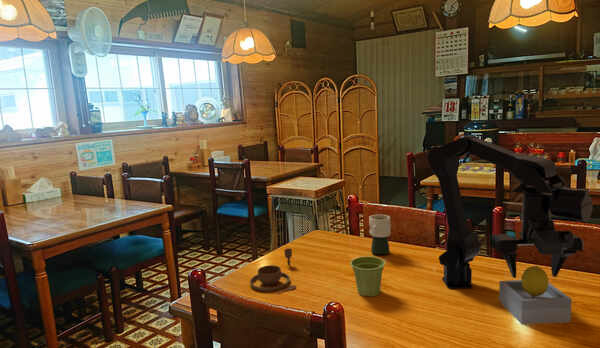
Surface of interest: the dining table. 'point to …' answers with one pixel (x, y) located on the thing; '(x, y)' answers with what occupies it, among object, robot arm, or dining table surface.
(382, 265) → the plant pot
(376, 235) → the character mug
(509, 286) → the grey open box
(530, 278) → the lemon
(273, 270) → the place setting
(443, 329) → the dining table surface
